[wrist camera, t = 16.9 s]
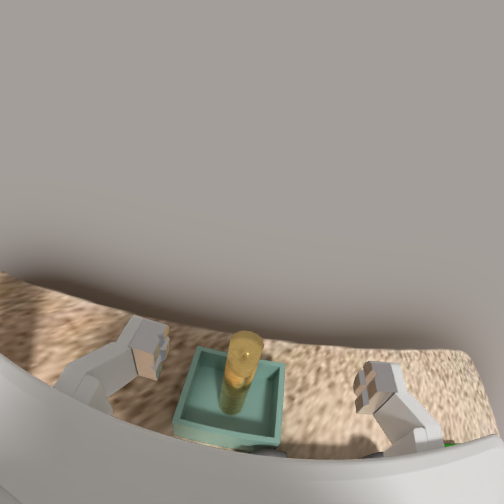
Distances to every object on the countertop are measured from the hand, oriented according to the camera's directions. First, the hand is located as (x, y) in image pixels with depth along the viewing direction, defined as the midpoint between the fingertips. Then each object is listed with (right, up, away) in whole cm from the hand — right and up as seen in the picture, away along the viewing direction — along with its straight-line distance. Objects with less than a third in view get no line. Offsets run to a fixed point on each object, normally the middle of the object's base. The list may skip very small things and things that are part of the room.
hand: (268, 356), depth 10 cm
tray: (-4, -19, +27) cm, 33 cm away
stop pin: (-4, -18, +26) cm, 32 cm away
